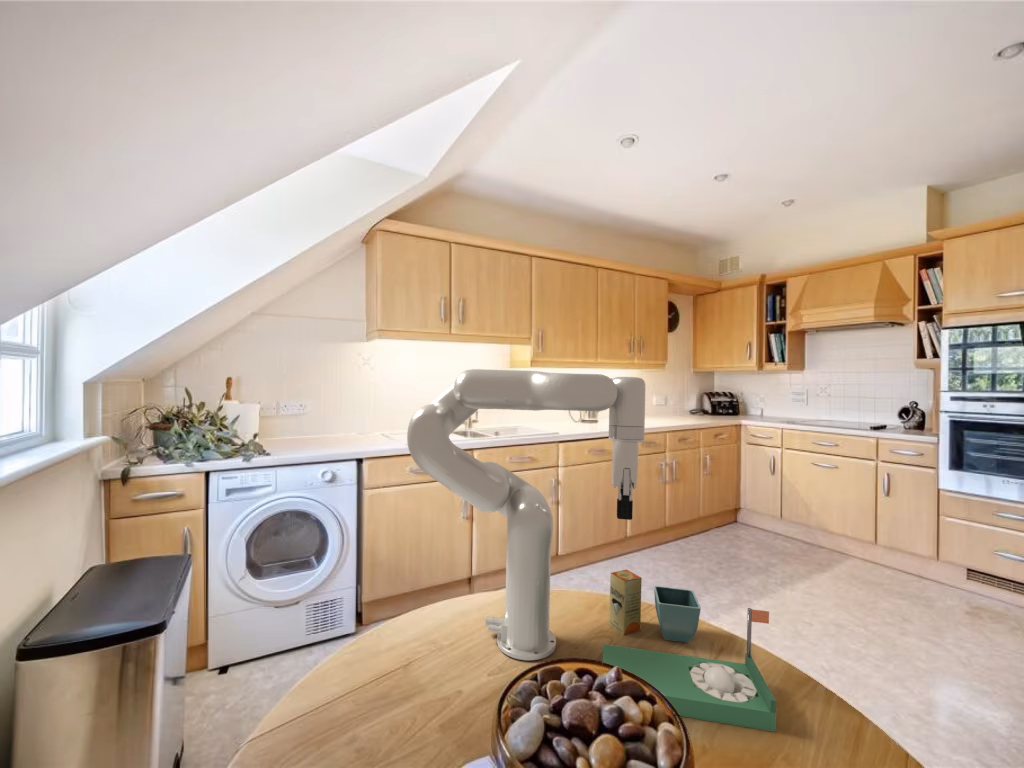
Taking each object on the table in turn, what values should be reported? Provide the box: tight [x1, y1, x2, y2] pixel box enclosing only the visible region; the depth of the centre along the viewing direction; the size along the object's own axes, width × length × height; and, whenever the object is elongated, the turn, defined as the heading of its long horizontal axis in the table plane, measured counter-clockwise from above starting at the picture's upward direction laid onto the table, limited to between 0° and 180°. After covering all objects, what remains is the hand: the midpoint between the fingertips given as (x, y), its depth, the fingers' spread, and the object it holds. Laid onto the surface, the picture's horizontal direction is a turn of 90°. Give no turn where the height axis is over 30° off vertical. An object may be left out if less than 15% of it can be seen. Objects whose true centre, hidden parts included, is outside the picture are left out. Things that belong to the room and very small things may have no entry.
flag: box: [746, 607, 770, 667], centre depth 83 cm, size 4×1×14 cm, turn 78°
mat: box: [602, 643, 777, 733], centre depth 81 cm, size 28×13×5 cm, turn 78°
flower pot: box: [653, 585, 701, 644], centre depth 99 cm, size 9×9×9 cm
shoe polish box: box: [608, 569, 643, 636], centre depth 102 cm, size 5×5×12 cm
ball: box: [704, 666, 734, 694], centre depth 79 cm, size 5×5×5 cm
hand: (624, 518), depth 96 cm, fingers closed
